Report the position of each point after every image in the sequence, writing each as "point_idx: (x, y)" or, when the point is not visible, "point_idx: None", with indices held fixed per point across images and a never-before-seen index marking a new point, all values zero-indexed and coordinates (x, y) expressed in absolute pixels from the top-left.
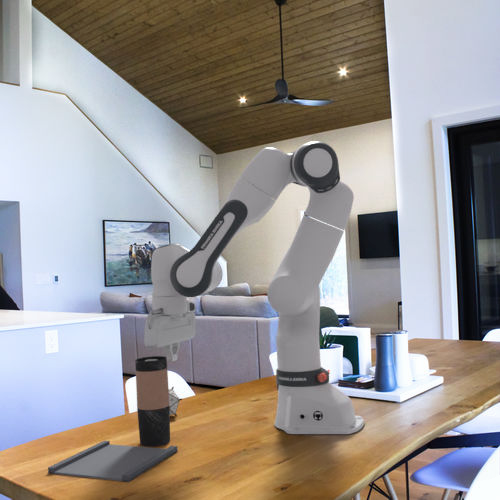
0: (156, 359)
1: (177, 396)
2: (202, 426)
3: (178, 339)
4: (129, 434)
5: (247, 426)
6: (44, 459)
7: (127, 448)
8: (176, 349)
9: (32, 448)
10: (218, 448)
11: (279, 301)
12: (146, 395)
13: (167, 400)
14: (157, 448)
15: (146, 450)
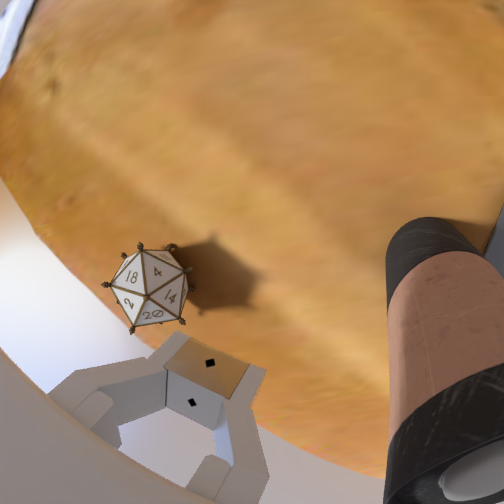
0: (491, 466)
1: (130, 260)
2: (270, 140)
3: (77, 459)
4: (333, 338)
5: (275, 7)
6: None
7: None
8: (129, 388)
9: (384, 460)
10: (491, 68)
11: None
12: None
13: (481, 263)
14: (494, 239)
15: (500, 266)
